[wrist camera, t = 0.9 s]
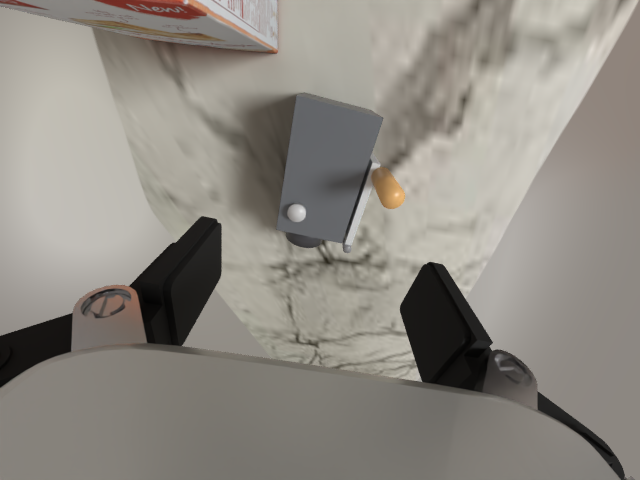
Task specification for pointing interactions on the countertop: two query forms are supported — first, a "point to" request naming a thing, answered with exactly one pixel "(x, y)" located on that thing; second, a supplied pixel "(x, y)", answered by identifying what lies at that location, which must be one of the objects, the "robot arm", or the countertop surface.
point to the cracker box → (171, 20)
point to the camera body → (324, 168)
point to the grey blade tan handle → (384, 187)
